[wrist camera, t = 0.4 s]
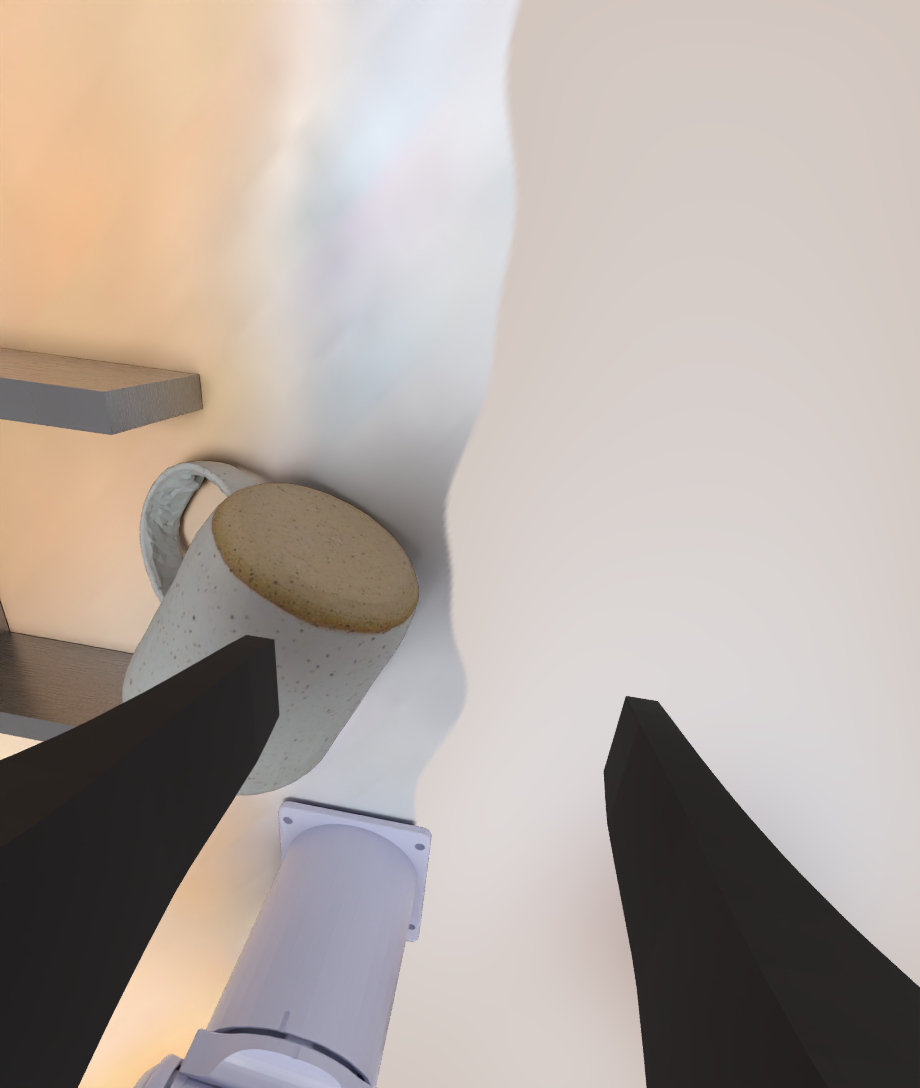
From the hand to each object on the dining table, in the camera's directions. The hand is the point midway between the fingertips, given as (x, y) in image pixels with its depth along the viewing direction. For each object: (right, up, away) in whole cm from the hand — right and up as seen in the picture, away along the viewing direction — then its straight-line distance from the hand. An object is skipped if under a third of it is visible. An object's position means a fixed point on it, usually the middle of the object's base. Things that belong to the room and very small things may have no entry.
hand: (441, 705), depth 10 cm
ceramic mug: (-7, +3, +11) cm, 13 cm away
